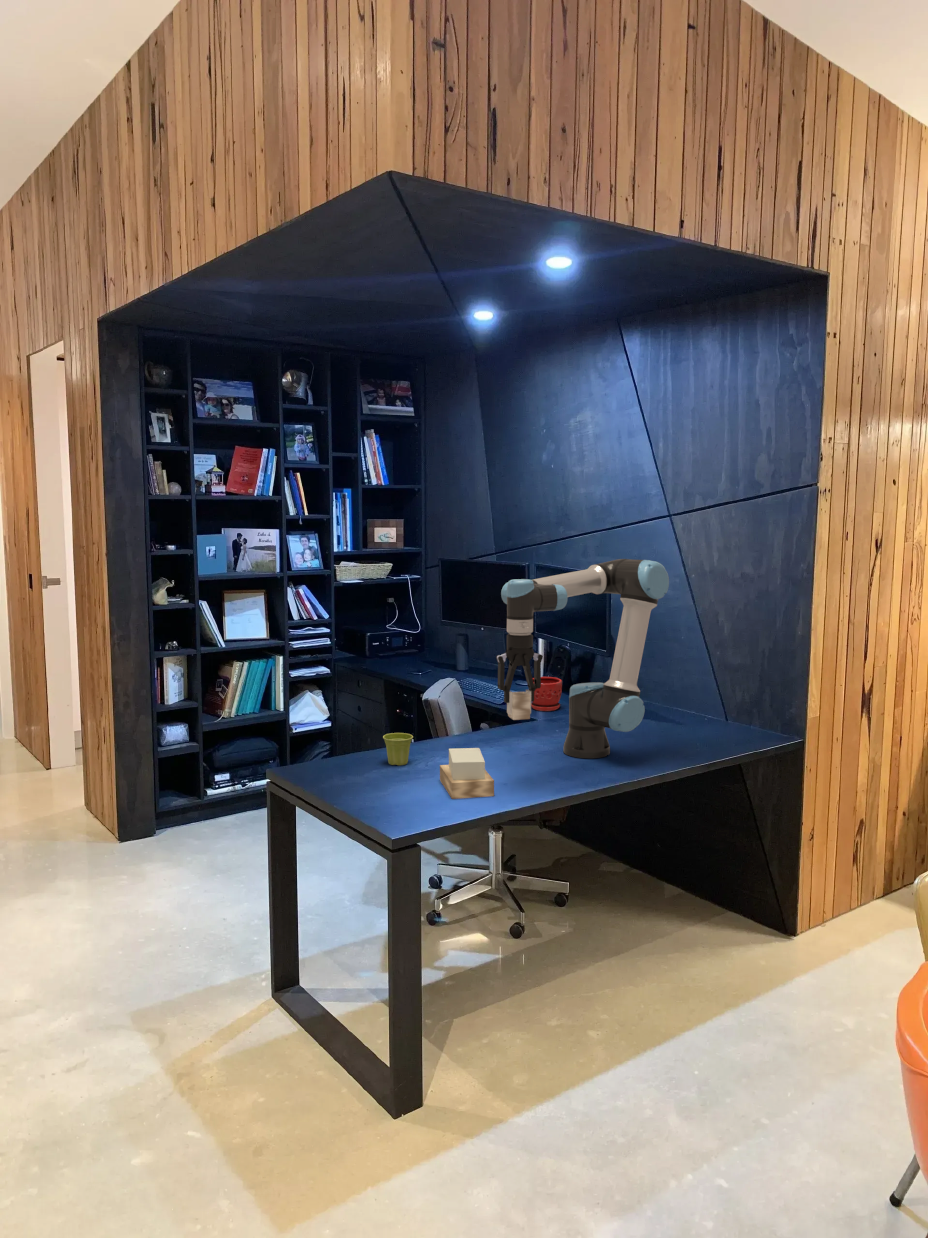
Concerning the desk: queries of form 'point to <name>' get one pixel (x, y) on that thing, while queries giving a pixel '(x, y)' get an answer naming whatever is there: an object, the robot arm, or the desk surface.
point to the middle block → (466, 764)
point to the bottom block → (466, 785)
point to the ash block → (520, 706)
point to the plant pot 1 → (398, 747)
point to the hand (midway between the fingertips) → (518, 713)
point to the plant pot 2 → (547, 694)
